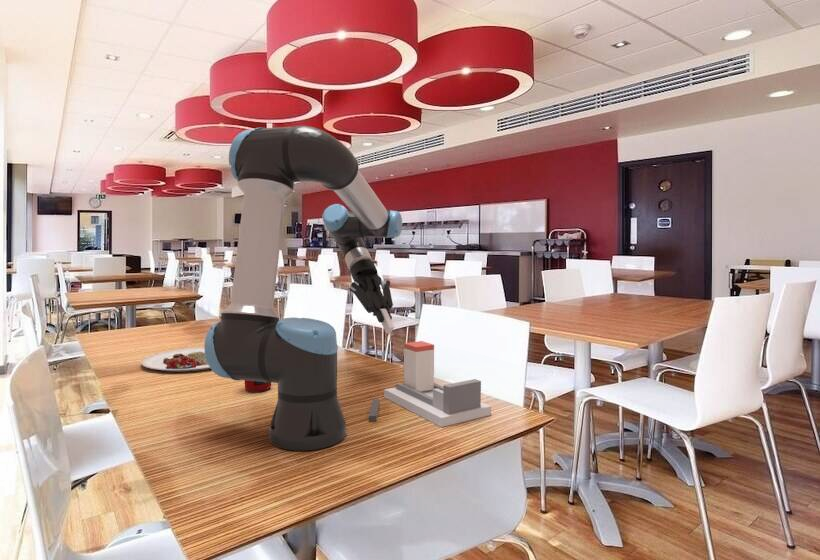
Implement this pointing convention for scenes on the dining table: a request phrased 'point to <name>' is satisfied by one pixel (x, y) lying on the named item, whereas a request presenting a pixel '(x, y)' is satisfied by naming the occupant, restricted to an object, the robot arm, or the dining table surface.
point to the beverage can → (257, 386)
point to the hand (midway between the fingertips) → (390, 330)
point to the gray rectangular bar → (374, 410)
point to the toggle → (419, 365)
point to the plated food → (178, 360)
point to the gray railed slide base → (442, 402)
